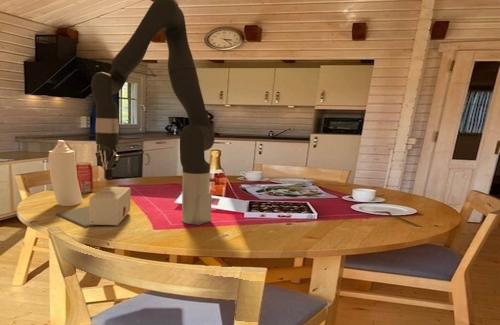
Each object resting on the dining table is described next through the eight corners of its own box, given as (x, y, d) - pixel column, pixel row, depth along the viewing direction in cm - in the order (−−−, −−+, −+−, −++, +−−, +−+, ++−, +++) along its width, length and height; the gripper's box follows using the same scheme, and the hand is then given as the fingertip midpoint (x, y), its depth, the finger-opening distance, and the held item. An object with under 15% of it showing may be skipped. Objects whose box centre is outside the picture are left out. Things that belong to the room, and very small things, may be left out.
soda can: (96, 191, 146) (95, 163, 144) (81, 194, 140) (80, 165, 138) (87, 189, 150) (86, 161, 148) (72, 191, 144) (71, 163, 142)
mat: (125, 217, 111) (125, 215, 111) (85, 227, 100) (85, 225, 100) (94, 206, 123) (94, 204, 123) (55, 214, 111) (55, 212, 111)
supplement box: (130, 211, 116) (118, 226, 101) (105, 210, 115) (88, 225, 100) (131, 187, 115) (118, 199, 100) (105, 185, 114) (88, 197, 99)
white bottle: (81, 207, 121) (79, 141, 118) (48, 209, 117) (45, 141, 114) (84, 199, 132) (82, 139, 128) (54, 201, 128) (51, 138, 124)
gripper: (127, 132, 112) (128, 180, 114) (107, 130, 120) (108, 175, 122) (107, 132, 106) (108, 183, 108) (87, 130, 114) (88, 178, 116)
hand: (108, 179), depth 115 cm, fingers closed
